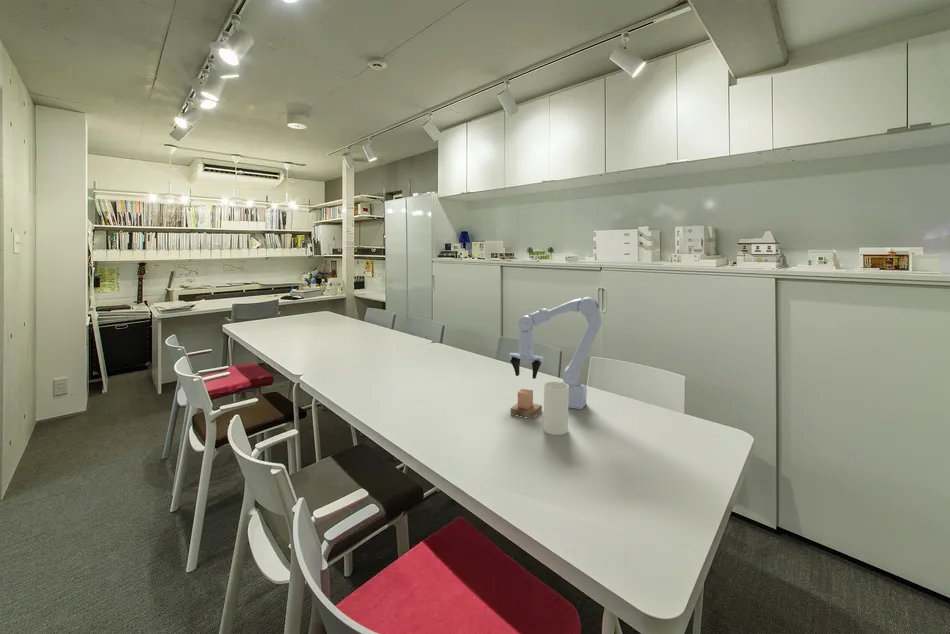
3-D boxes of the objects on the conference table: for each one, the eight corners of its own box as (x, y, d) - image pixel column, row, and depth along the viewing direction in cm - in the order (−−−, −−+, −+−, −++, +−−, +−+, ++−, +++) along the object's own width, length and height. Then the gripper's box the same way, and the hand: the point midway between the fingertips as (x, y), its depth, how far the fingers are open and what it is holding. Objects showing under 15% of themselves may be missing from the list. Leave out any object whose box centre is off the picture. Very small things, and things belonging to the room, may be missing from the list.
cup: (564, 424, 144) (565, 381, 141) (570, 434, 136) (571, 389, 133) (541, 425, 144) (542, 381, 141) (546, 435, 136) (547, 389, 133)
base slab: (541, 412, 156) (541, 405, 156) (532, 420, 149) (532, 412, 148) (520, 408, 161) (520, 401, 161) (510, 415, 154) (510, 408, 153)
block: (532, 405, 156) (532, 390, 155) (528, 409, 152) (528, 393, 151) (522, 403, 158) (521, 388, 157) (517, 407, 154) (517, 392, 153)
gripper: (505, 344, 166) (505, 376, 168) (539, 348, 158) (538, 382, 160) (513, 341, 172) (513, 372, 174) (545, 345, 164) (545, 377, 166)
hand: (525, 376), depth 168 cm, fingers open, 7 cm apart
